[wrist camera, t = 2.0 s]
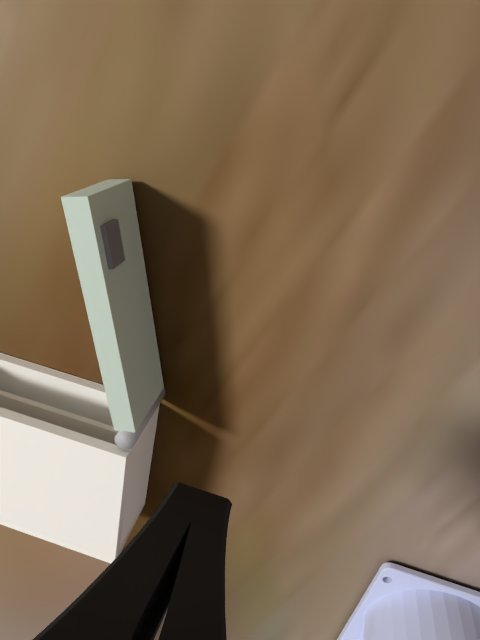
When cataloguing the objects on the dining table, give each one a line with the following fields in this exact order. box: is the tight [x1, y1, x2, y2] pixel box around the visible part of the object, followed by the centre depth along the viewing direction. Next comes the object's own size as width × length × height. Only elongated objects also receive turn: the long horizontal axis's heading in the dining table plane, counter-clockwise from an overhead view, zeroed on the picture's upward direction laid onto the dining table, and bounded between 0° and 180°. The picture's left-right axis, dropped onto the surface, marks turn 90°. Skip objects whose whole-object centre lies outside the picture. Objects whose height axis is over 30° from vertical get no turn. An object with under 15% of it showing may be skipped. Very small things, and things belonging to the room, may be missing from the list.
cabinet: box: [0, 353, 160, 563], centre depth 24 cm, size 8×11×4 cm
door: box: [61, 179, 166, 450], centre depth 19 cm, size 1×11×4 cm, turn 3°
